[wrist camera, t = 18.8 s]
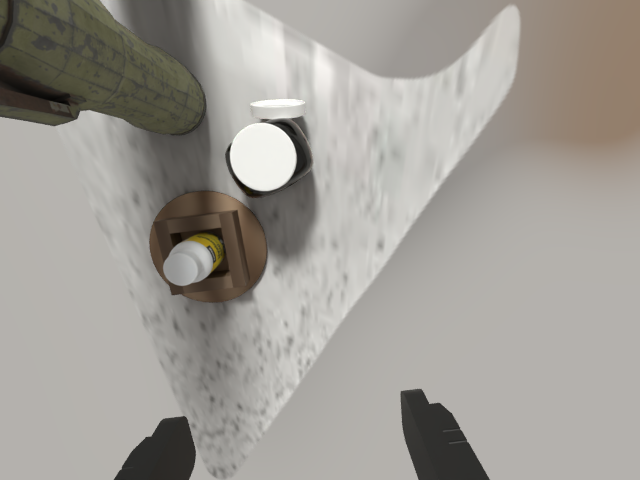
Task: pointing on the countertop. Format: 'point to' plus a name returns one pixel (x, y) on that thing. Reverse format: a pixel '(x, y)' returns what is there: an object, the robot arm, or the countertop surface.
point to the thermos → (89, 69)
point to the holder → (227, 222)
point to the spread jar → (270, 149)
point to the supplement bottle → (194, 258)
